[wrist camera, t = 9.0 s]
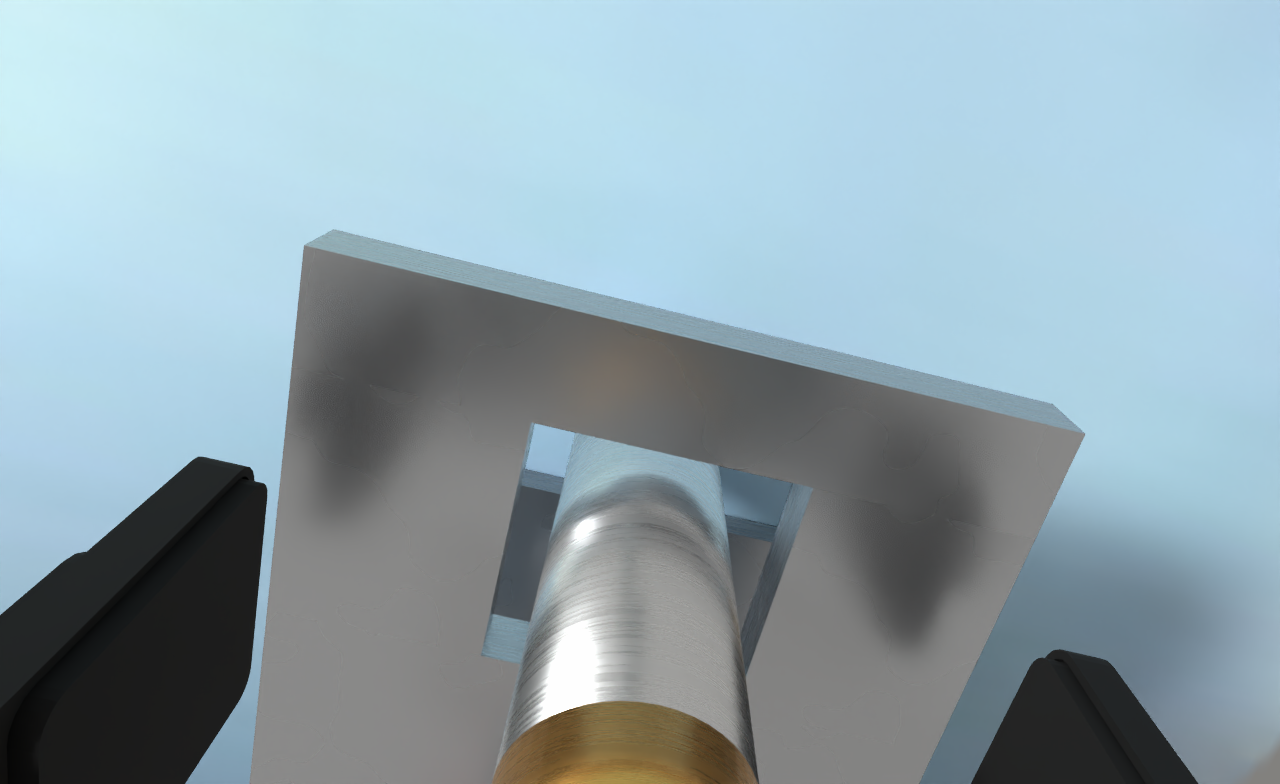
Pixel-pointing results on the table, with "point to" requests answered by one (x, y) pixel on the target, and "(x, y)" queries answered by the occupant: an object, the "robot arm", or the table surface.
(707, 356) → the plate with square hole
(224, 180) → the table surface
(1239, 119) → the table surface
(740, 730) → the pin
